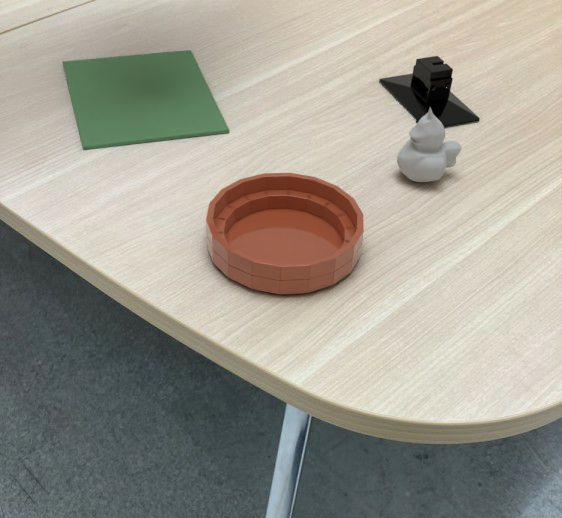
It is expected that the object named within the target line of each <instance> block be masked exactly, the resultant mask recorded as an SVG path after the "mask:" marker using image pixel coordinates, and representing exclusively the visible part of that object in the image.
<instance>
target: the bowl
mask: <svg viewBox="0 0 562 518" xmlns="http://www.w3.org/2000/svg"><path fill="white" fill-rule="evenodd" d="M364 223H365V222H364V213H363V211H362V209H361V208H360V206H359V205H358V203H357V201H356V200H355V198H354V197H353V196H352V195H350V194H349V193H347V192H346V191H345V190H344V189H342V188H341V187H340V186H338V185H336V184H335V183H332V182H329V181H326V180H324V179H321V178H319V177H316V176H312V175H306V174H300V173H294V172H266V173H265V172H263V173H259V174H256V175H251V176H246V177H242V178H239V179H238V180H236V181H234V182H232V183H230V184H229V185H227V186H224V187H223V188H222V189H220V190H219V191H218V193H216V195H215V196H214V197H213V198H212V200H211V201H210V202H209V203H208V207H207V212H206V217H205V230H206V233H205V234H206V247H207V252H208V253H209V256H210V258H211V261H212V263H213V265H214V266H215V267H217V269H219V270H220V271H221V272H222V273H223V275H225V276H226V277H227V278H228V279H230V280H231V281H235V282H237V283H239V284H241V285H242V286H244V287H247V288H249V289H252V290H255V291H261V292H266V293H271V294H277V295H291V294H292V295H295V294H308V293H312V292H315V291H318V290H322V289H324V288H328V287H332V286H334V285H335V284H338V282H340V281H341V280H342V279H344V278H345V277H347V276H348V275H350V274H351V273H352V271H353V270H354V268H355V267H356V264H357V263H358V261H359V259H360V257H361V251H362V245H363V239H364V232H365V226H364Z"/></svg>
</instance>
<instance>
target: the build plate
mask: <svg viewBox="0 0 562 518" xmlns="http://www.w3.org/2000/svg"><path fill="white" fill-rule="evenodd" d="M453 71H454V69H453V67H451V66H450V65H449V64H448V63H445V61H444V60H443V59H442V58H441V57H440V56H439V55H433V56H427V57H419V58H416V59H415V65H413V68H412V73H407V74H401V75H394V76H389V77H382V78H379V80H378V82H379V84H381V86H382V87H383V88H384V89H385V90H386V91H387V92H388V93H389V94H390V95H391V96H392V97H393V98H394V99H395V100H396V101H397V102H398V103H399V104H400V105H401V106H402V107H403V108H404V109H405V110H406V111H407V113H409V114H410V115H411V116H412V117H413V118H414V119H415V123H416V124H417V123H418V122H419V120H420V119H421V118H422V117H423V116H424V115H426V114H427V113H428V112H429V108H430V107H431V110H432V113H433V114H434V116H435V117H436V118H437V119H438V120H440V121H441V123H442V124H443V126H444V129H447V128H452V127H457V126H462V125H469V124H474V123H479V122H480V121H481V118H480V117H479V116H478V115H477V114H476V113H475V112H474V111H473V110H472V109H470V108H469V107H468V106H467V105H466V104H465V103H464V102H463V101H462V100H461V99H459V97H457V96H456V95H455V94H454V93H453V92H452V91H451V90H452V89H451V88H452V83H453Z"/></svg>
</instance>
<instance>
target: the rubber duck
mask: <svg viewBox="0 0 562 518" xmlns="http://www.w3.org/2000/svg"><path fill="white" fill-rule="evenodd" d="M408 135H409V139H408V140H407V141H406V142H405V144H404V145H403V146H402V147H401V148H400V150H399V151H398V152H397V156H396V163H397V166H398V168H399V170H400V171H401V173H402V174H403V175H404V176H405V177H406V178H407V179H409V180H410V181H413V182H416V183H431V182H434V181H438V180H441V179H442V177H443V176H444V173H445V171H446V169H451V168H453V167H455V165H456V163H457V157H458V156H459V154H460V153H461V151H462V145H461V144H460V142H458V141H457V140H447V141H445V139H446V128H444V126H443V124H442V123H441V121H440V120H438V119H437V118H436V117H435V116H434V114H433V113H432V110H431V107H430V108H429V112H428V113H427V114H426V115H424V116H423V117H422V118H421V119H420V120H419V122H418V123H417V122H416V123H415V125H414V126H413V127H412V128H411V129H410V130H409V132H408Z"/></svg>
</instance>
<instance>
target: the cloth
mask: <svg viewBox="0 0 562 518" xmlns="http://www.w3.org/2000/svg"><path fill="white" fill-rule="evenodd" d="M62 66H63V70H64V75H65V78H66V79H65V80H66V82H67V83H66V84H67V87H68V91H69V95H70V99H71V104H72V108H73V113H74V116H75V121H76V125H77V129H78V133H79V137H80V142H81V145H82V150H92V149H101V148H109V147H110V148H111V147H119V146H127V145H137V144H144V143H154V142H163V141H170V140H178V139H186V138H187V139H188V138H197V137H205V136H213V135H221V134H229V133H230V129H229V126H228V125H227V123H226V119H225V118H224V117H223V114H222V111H221V110H220V108H219V106H218V104H217V102H216V100H215V97H214V96H213V94H212V91H211V89H210V87H209V85H208V83H207V81H206V78H205V77H204V75H203V72H202V71H201V69H200V67H199V64H198V62H197V59H196V58H195V56H194V53H193V52H192V50H191V49H184V50H175V51H163V52H153V53H142V54H130V55H119V56H108V57H97V58H87V59H76V60H64V61H62Z"/></svg>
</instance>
